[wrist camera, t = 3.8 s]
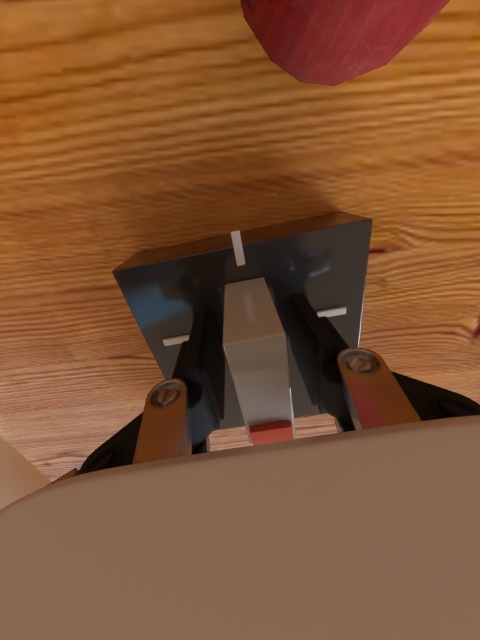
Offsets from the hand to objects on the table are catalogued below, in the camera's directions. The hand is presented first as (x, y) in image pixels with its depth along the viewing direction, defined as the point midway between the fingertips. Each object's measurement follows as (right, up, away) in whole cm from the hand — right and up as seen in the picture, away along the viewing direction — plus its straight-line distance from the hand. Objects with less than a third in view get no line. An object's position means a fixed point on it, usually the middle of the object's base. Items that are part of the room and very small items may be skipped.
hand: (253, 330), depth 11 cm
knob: (0, 0, 0) cm, 0 cm away
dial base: (0, 0, +4) cm, 4 cm away
